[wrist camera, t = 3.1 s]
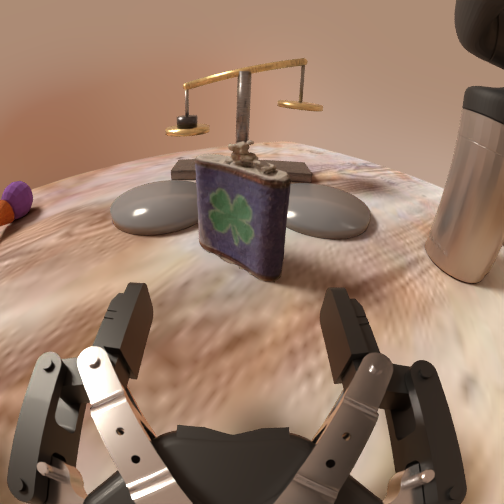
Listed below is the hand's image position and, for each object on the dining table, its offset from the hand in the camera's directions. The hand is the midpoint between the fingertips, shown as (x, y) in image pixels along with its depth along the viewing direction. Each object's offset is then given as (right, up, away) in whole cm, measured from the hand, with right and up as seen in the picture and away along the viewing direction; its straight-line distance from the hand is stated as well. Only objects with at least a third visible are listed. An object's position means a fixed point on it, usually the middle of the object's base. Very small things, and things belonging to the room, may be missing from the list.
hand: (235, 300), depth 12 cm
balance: (-1, +15, +32) cm, 36 cm away
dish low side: (-11, +8, +21) cm, 25 cm away
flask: (-1, +2, +14) cm, 14 cm away
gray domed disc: (+9, +7, +22) cm, 25 cm away
